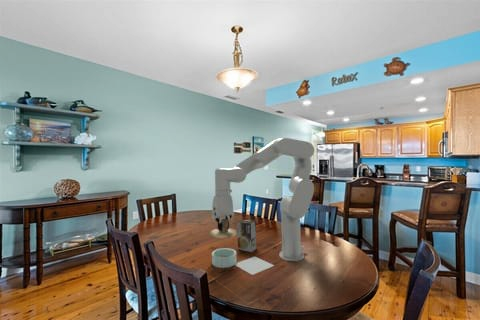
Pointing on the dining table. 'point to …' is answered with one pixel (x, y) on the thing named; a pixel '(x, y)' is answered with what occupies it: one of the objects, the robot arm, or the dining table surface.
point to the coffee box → (246, 235)
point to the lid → (223, 231)
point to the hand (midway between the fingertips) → (223, 229)
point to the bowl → (224, 257)
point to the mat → (253, 265)
